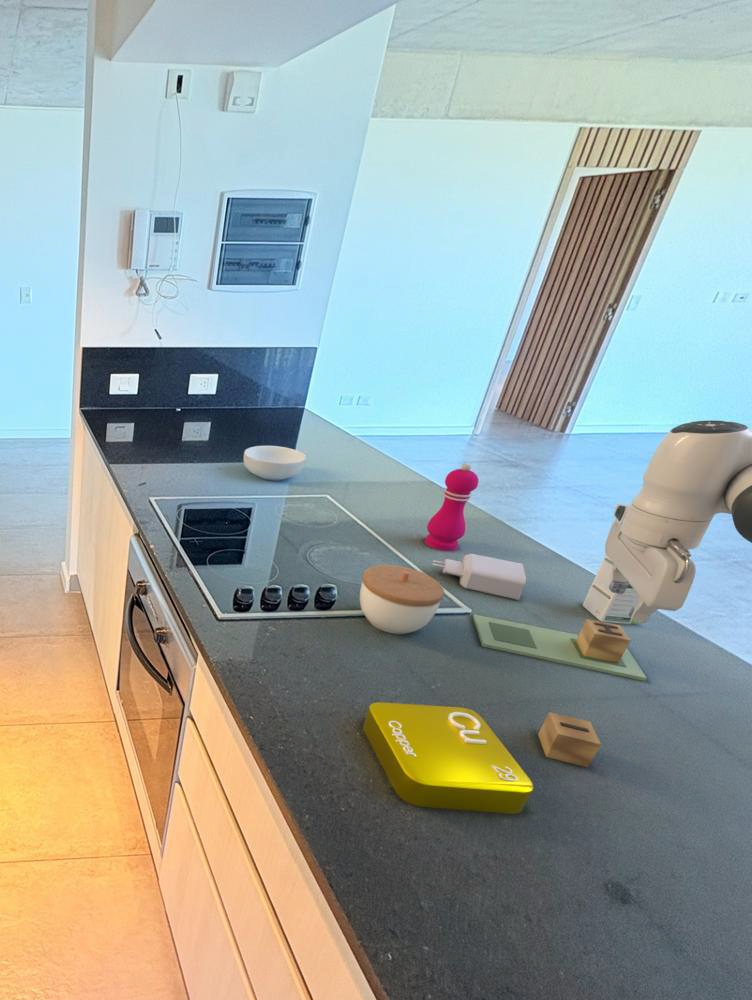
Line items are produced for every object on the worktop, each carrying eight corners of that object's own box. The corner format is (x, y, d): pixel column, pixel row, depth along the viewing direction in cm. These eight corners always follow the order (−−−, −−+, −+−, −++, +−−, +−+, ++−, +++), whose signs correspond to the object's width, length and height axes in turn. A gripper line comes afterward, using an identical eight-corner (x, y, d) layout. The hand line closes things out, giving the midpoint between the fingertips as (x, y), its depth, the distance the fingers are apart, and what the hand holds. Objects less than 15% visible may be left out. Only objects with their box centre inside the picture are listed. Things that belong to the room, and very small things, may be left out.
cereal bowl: (297, 469, 186) (301, 446, 183) (306, 489, 172) (311, 465, 169) (239, 465, 190) (242, 442, 187) (242, 484, 175) (246, 460, 172)
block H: (609, 647, 104) (621, 624, 102) (618, 663, 101) (631, 639, 99) (575, 641, 106) (586, 618, 104) (583, 656, 102) (595, 632, 100)
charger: (430, 563, 133) (514, 582, 126) (428, 582, 126) (518, 602, 119) (436, 544, 131) (522, 561, 124) (435, 562, 124) (526, 581, 117)
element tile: (357, 722, 90) (365, 697, 88) (465, 729, 89) (476, 704, 87) (401, 807, 77) (412, 780, 75) (529, 817, 76) (543, 789, 73)
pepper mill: (427, 536, 145) (453, 455, 136) (462, 546, 141) (491, 463, 132) (417, 546, 141) (443, 463, 132) (453, 556, 136) (483, 471, 127)
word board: (622, 648, 106) (624, 643, 106) (644, 683, 98) (647, 677, 97) (472, 618, 114) (474, 613, 114) (481, 648, 106) (483, 642, 106)
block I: (576, 746, 86) (590, 720, 84) (587, 769, 82) (601, 743, 80) (536, 736, 88) (549, 710, 86) (545, 758, 84) (558, 732, 82)
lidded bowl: (445, 643, 108) (465, 589, 103) (376, 646, 107) (392, 592, 102) (402, 604, 119) (417, 554, 114) (339, 606, 118) (352, 556, 113)
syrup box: (600, 623, 113) (634, 553, 106) (580, 606, 118) (612, 538, 111) (635, 626, 112) (672, 556, 105) (613, 608, 117) (647, 541, 111)
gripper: (724, 560, 83) (679, 644, 89) (662, 506, 100) (627, 580, 106) (663, 552, 86) (623, 634, 92) (612, 500, 102) (582, 573, 108)
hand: (625, 605), depth 99 cm, fingers open, 8 cm apart
